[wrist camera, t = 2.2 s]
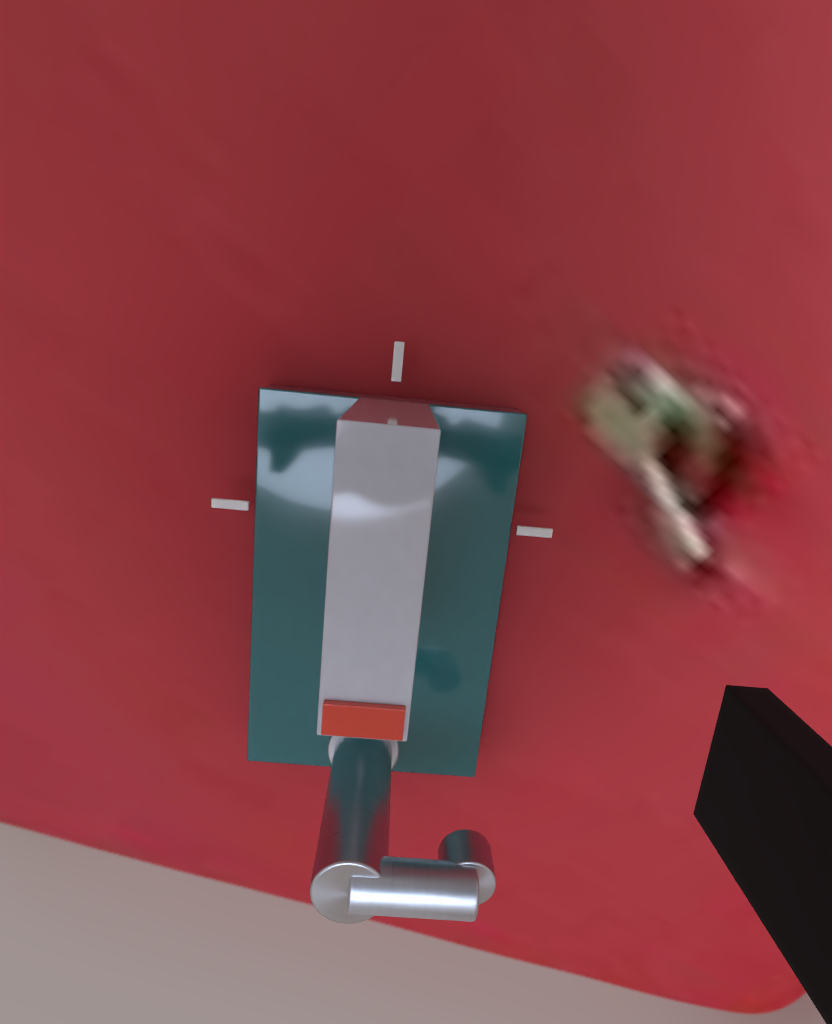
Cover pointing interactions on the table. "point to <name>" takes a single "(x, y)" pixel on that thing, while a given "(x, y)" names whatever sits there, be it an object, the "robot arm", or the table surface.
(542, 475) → the table surface
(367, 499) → the white block
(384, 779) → the spout
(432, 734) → the teal base plate
